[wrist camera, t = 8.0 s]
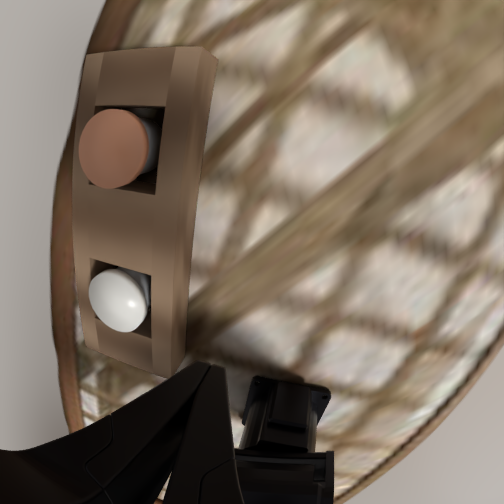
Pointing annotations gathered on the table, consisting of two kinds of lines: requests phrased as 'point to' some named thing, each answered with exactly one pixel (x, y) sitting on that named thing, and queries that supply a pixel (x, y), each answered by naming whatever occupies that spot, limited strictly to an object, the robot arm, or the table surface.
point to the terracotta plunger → (118, 148)
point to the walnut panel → (144, 198)
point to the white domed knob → (121, 298)
